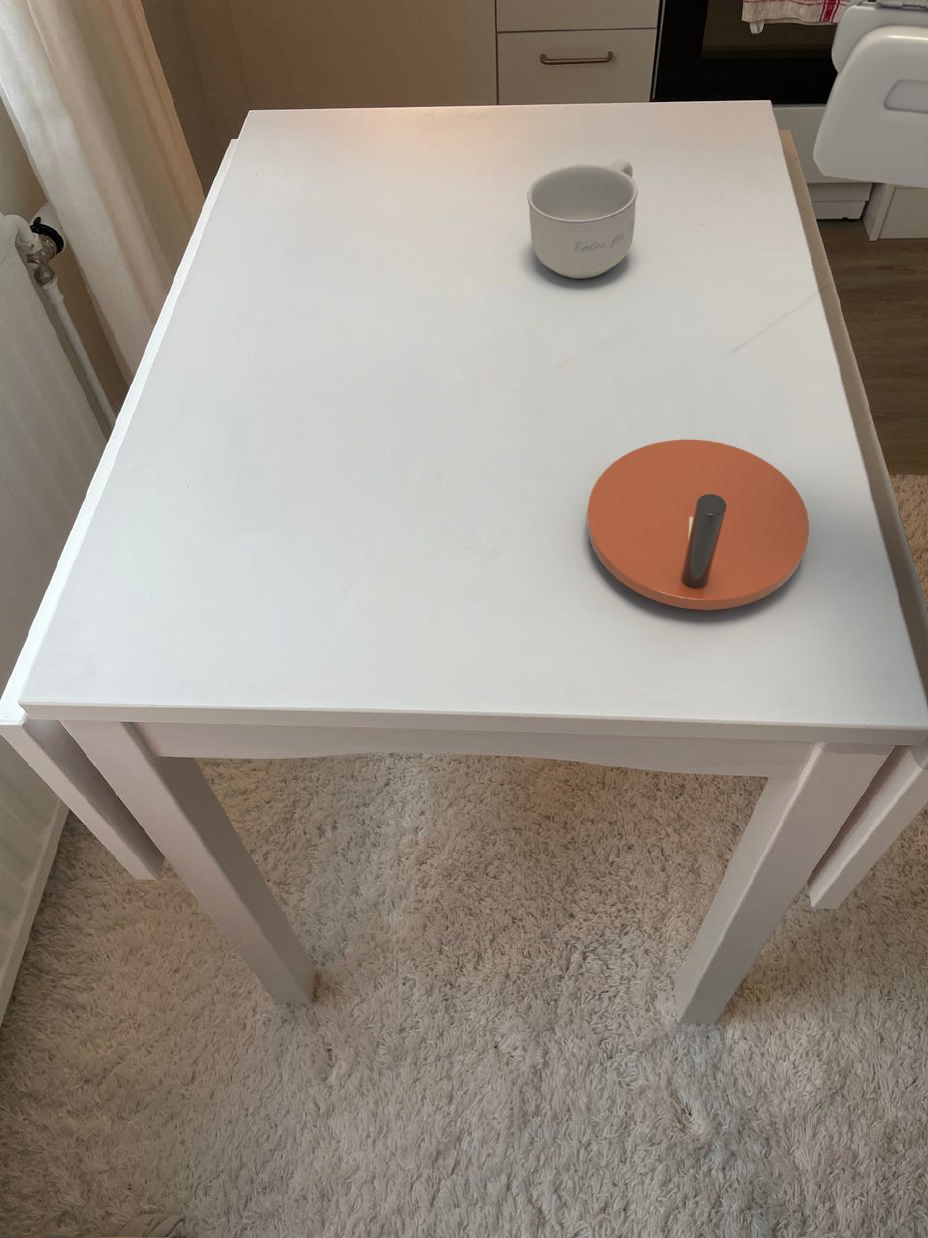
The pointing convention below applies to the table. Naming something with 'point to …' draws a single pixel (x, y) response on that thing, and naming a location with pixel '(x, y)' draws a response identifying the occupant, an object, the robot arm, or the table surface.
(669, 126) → the table surface
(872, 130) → the robot arm
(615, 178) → the teacup
